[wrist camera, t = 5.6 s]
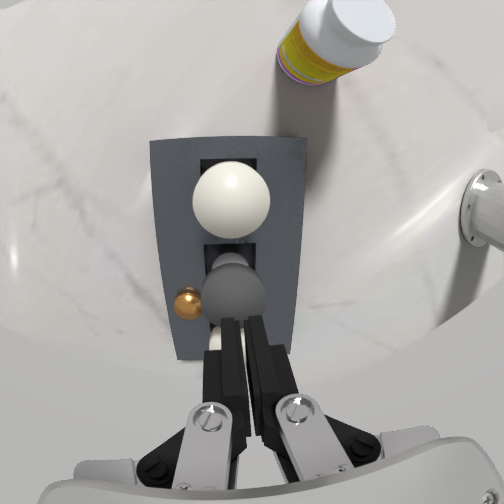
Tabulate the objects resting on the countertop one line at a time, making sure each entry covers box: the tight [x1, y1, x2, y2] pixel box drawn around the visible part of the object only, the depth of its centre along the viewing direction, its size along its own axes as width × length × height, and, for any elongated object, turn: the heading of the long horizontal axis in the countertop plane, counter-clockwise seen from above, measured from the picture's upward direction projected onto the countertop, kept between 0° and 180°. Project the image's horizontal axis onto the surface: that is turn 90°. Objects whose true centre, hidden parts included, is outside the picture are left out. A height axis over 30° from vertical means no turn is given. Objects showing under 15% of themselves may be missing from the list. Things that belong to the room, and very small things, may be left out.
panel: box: [150, 136, 307, 360], centre depth 28 cm, size 25×14×4 cm, turn 0°
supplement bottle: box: [277, 0, 396, 85], centre depth 17 cm, size 7×7×13 cm
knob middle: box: [200, 253, 267, 329], centre depth 24 cm, size 5×5×6 cm
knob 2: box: [209, 326, 246, 366], centre depth 30 cm, size 5×5×6 cm
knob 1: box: [193, 161, 270, 239], centre depth 21 cm, size 5×5×6 cm
